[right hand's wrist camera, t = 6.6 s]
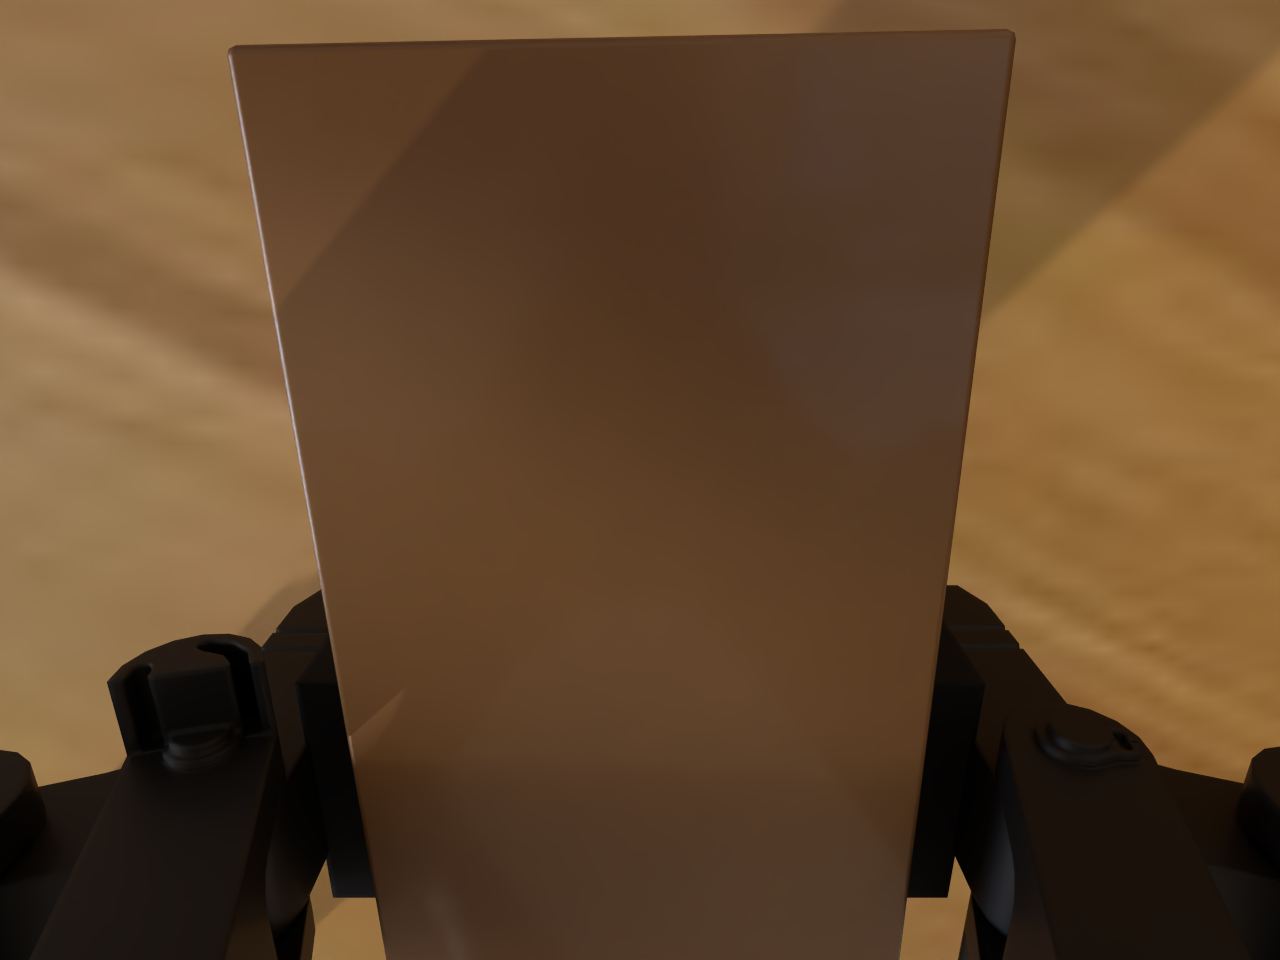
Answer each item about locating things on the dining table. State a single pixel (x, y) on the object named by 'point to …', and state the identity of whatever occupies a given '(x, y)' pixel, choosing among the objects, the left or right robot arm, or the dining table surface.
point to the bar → (632, 465)
